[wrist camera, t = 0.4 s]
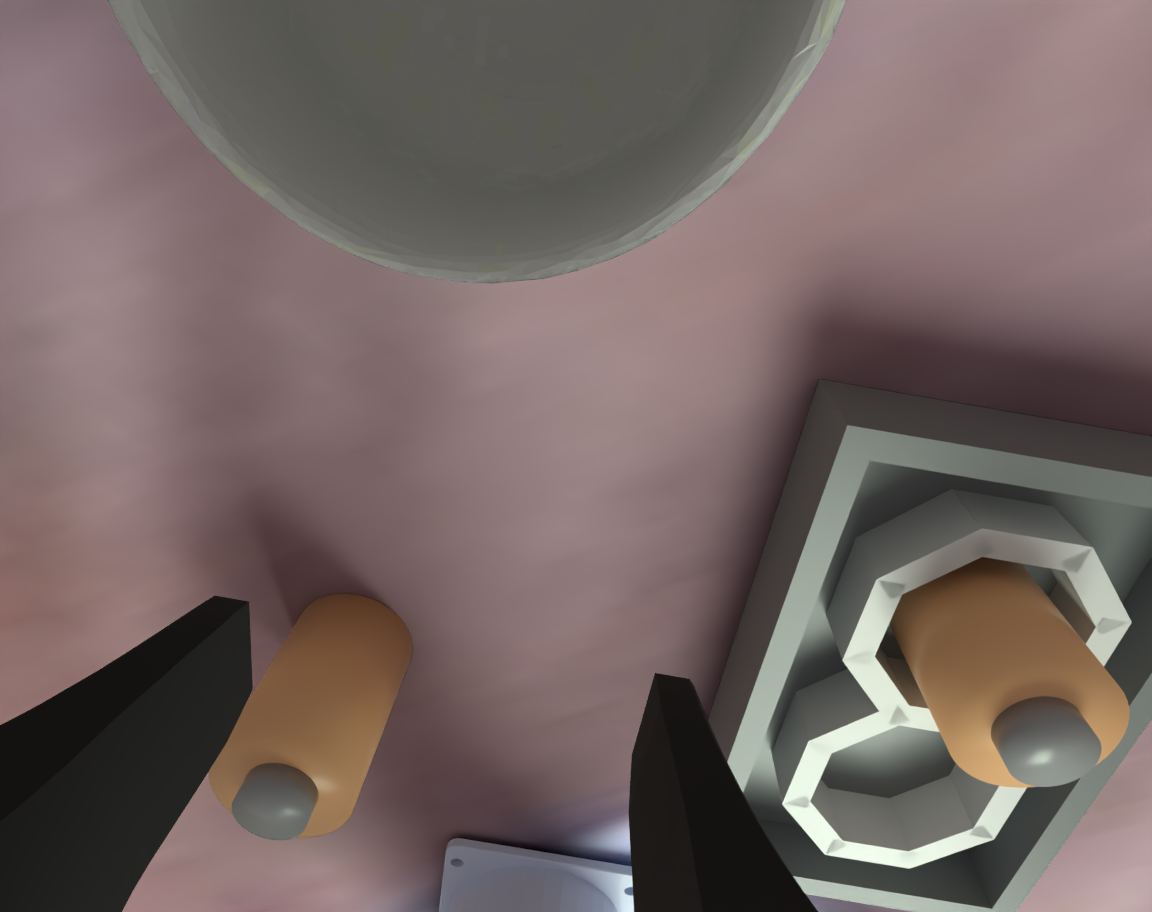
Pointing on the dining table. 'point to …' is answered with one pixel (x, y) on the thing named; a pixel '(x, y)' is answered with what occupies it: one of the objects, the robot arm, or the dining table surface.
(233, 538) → the dining table surface
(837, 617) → the housing
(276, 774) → the orange battery
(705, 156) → the teacup
